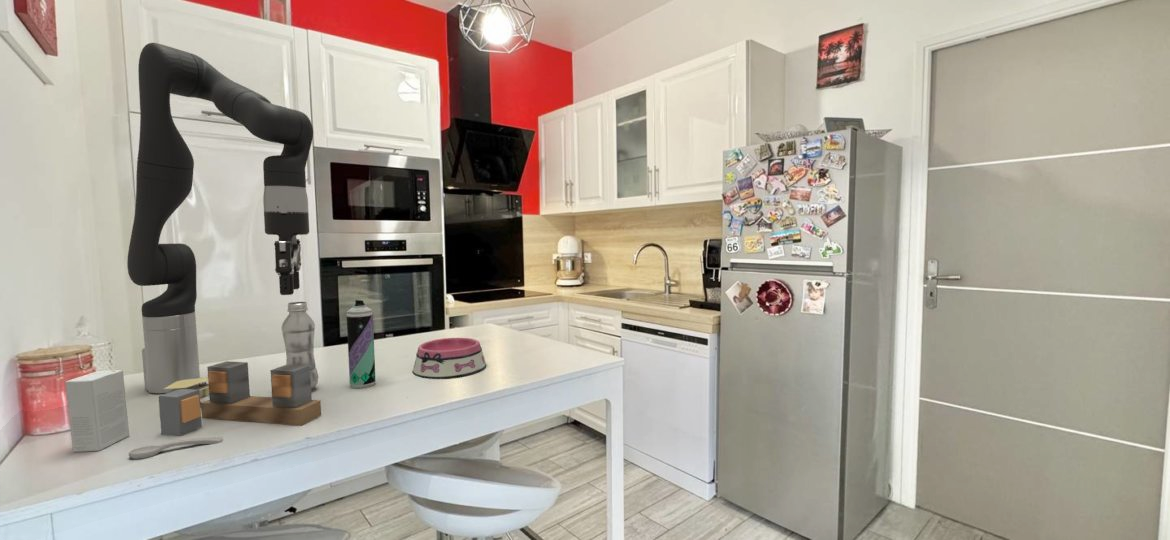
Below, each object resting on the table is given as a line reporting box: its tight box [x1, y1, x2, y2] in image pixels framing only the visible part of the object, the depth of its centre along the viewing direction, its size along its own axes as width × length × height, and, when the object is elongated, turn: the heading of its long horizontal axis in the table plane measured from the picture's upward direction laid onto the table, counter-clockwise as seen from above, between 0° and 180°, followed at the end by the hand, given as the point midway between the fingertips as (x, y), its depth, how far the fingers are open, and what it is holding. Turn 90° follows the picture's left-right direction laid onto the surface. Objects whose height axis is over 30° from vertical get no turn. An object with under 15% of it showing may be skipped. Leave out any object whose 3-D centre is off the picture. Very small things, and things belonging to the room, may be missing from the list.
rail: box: [200, 360, 322, 427], centre depth 93 cm, size 22×5×10 cm, turn 80°
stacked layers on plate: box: [164, 376, 209, 401], centre depth 98 cm, size 10×9×6 cm
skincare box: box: [64, 369, 130, 453], centre depth 81 cm, size 6×4×12 cm
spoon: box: [128, 436, 224, 460], centre depth 80 cm, size 3×12×2 cm, turn 124°
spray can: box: [346, 299, 376, 389], centre depth 112 cm, size 6×6×20 cm
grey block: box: [158, 389, 203, 437], centre depth 87 cm, size 4×4×7 cm
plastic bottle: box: [281, 301, 319, 390], centre depth 108 cm, size 6×7×20 cm
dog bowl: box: [411, 337, 487, 380], centre depth 125 cm, size 18×19×7 cm
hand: (290, 291), depth 96 cm, fingers open, 8 cm apart
